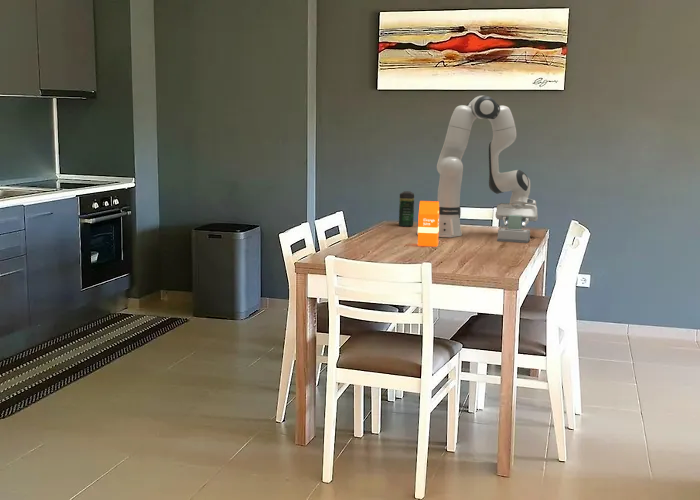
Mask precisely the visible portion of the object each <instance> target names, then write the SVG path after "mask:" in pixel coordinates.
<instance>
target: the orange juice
mask: <svg viewBox="0 0 700 500" xmlns="http://www.w3.org/2000/svg"><path fill="white" fill-rule="evenodd" d="M418 208H419V209H418V219H417V220H418V222H417V223H418V226H417V231H418V235H417V246H418V247H421V246H422V247H438V246H439V238H440V237H439V201H436V200H435V201H432V200H420V201H419V207H418Z"/></svg>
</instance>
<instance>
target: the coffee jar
mask: <svg viewBox="0 0 700 500" xmlns="http://www.w3.org/2000/svg"><path fill="white" fill-rule="evenodd" d="M398 208H399V209H398V225H399V226H400V227H404V228H406V227H413V226H414V221H415V220H414V218H415V217H414V216H415V215H414V214H415V194H414V192H413V191H411V190H410V191H409V190H405V191H404V190H403V191H402V192H400V193H399V207H398Z"/></svg>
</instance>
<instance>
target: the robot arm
mask: <svg viewBox="0 0 700 500" xmlns="http://www.w3.org/2000/svg"><path fill="white" fill-rule="evenodd" d="M512 113H513V112H512V111H511V109H510V107H508V106H506V105H500V104H498V103H497V102H496V100H495V99H494V98H493V97H491V96H489V95H483V94H482V95H478V96H475V97H473V98H472V99H471V100H470V101H469V102H467V104H466V105H465V104H464V105H463V104H461V105H458V106H455V108H454V110H453V112H452V114H451V117H450V120H449V123H448V126H447V131H446V134H445V138H444V141H443V146H442V148H441V151H440V154H439V157H438V160H437V164H436V171H437V172H438V174H439V182H438V187H437V198H436V199H437V201H439V238H455V237H461V236H463V234H462V233H463V232H462V229H461V221H460V220H461V219H460V218H461V215H462V213H461V212H462V209H461V206H460V204H461V188H462V183H463V176H464V175H463V173H464V164H463V161H462V158H463V157H464V154H465V151H466V149H467V147H468V143H469V139H470V135H471V131H472V126H473V124H474V122H475V121H476V120H477V119H479V120H480V119H481V120H484V119H487V120H488V121H489V123H490V124H491V129H492V139H491V141H490V142H489V144H488V171H489V172H488V187H489V190H490V191H491V192H492V193H495V194H497V195H498V194H503V193H506V192H511V196H510V199H509V202H506V203H505V202H501V203H498V204H497V205H496V210H495V218H496V220H500V221H501V220H502V222H503V226H504V227H508V217H509V215H518V216H522V225H521V228H526V226H527V225H528V224H529V223H530V222H536V221H538V218H539V217H538V216H539V215H538V207H537V206H538V205H537V201H536V200H535V199H532V198H529V196H530V194H531V179H530V178H529V176H527V174H526V173H525V172H523V170H521V169H515V170H510V171H505V172H500V167H499V163H500V162H499V157H500V156H499V155H500V154H501V152H502V151H503V150H505V149H507V148H508V147H510V146H511V145H512V144H513V143H515V142H516V139H517V135H518V134H517V128H516V122H515V119H514V116H513V114H512ZM416 235H417V236H418V230H417V231H416Z"/></svg>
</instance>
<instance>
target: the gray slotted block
mask: <svg viewBox="0 0 700 500" xmlns="http://www.w3.org/2000/svg"><path fill="white" fill-rule="evenodd" d="M530 241H531V230H530V229H523V228H521V229H508V228H504V227H503V228H499V229H497V238H496V242H503V243H504V242H505V243H519V244H522V243H523V244H528V243H529V242H530Z"/></svg>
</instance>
